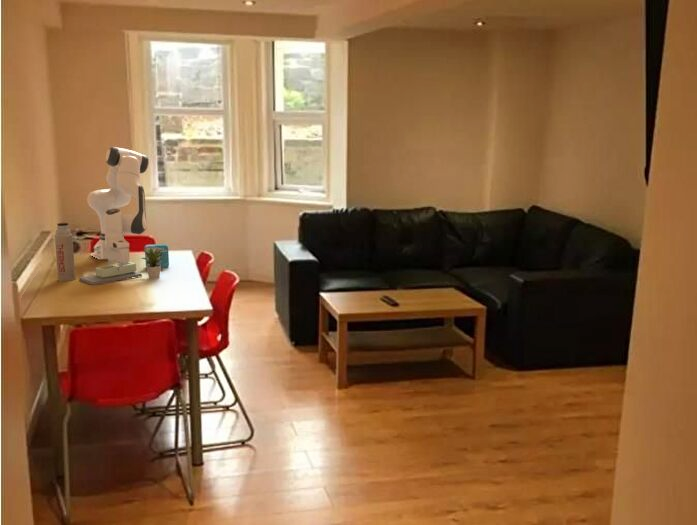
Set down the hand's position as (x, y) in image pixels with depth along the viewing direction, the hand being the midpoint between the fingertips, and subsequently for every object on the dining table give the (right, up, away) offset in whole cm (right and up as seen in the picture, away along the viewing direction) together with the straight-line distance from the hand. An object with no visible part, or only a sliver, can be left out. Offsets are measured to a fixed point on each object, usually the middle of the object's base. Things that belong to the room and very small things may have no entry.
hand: (116, 269), depth 357 cm
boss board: (-2, -4, -1) cm, 5 cm away
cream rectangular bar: (0, -2, 0) cm, 2 cm away
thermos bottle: (-23, -5, -4) cm, 24 cm away
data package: (+14, +1, +26) cm, 29 cm away
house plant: (+19, -5, -1) cm, 20 cm away
